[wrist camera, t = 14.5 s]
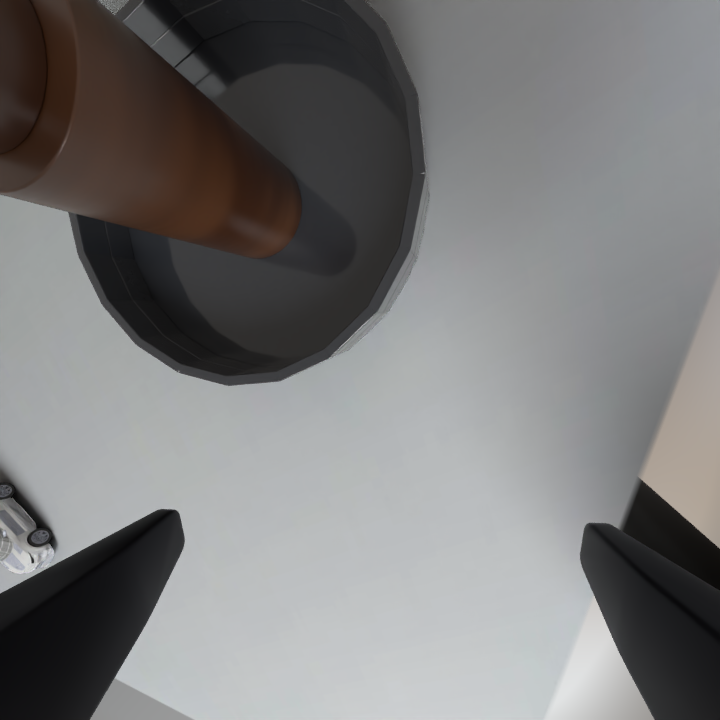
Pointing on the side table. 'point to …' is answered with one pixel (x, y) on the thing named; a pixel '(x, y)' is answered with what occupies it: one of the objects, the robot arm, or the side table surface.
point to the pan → (312, 173)
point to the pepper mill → (129, 135)
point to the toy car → (21, 536)
